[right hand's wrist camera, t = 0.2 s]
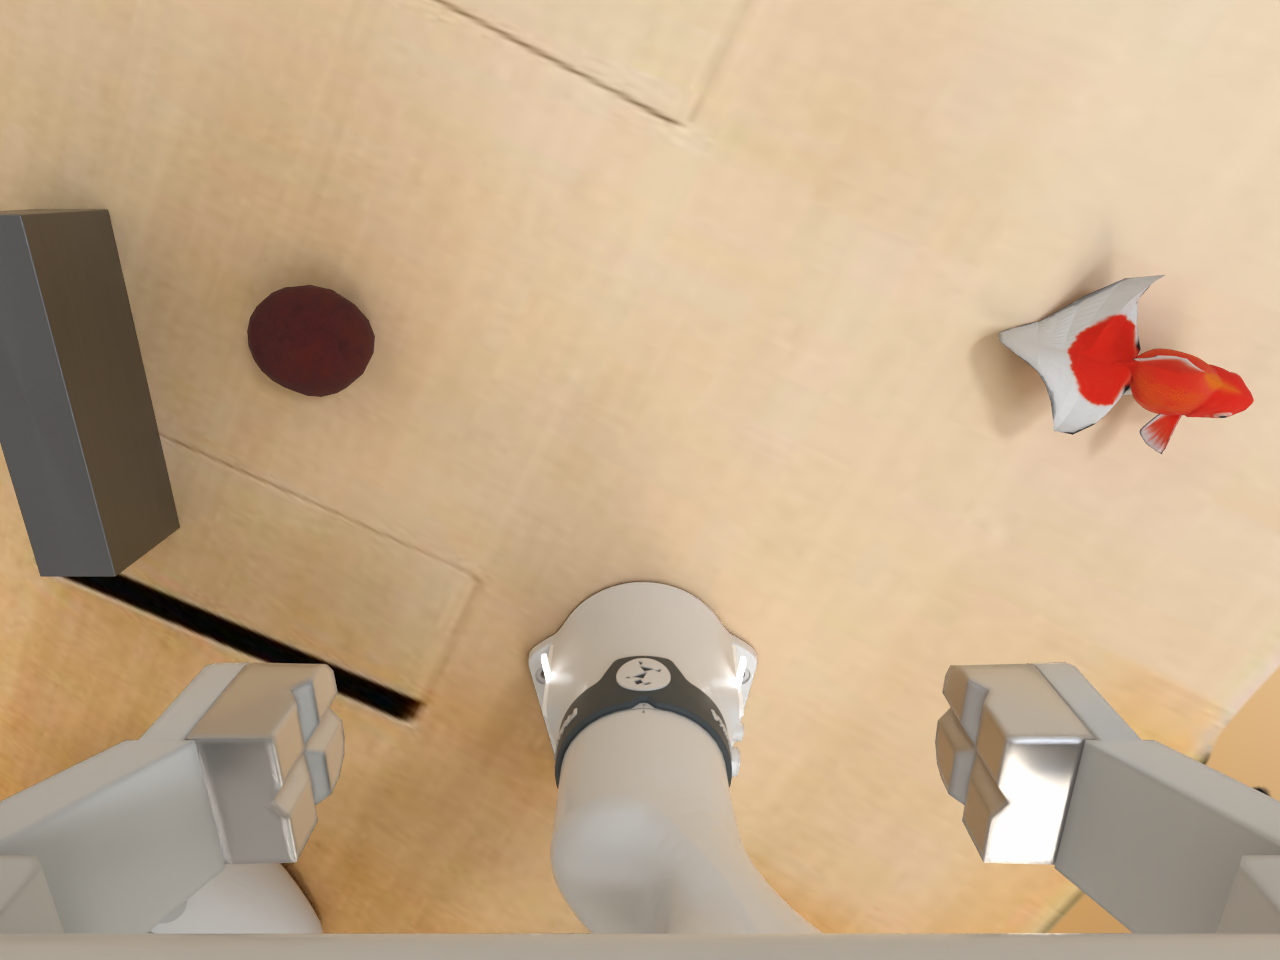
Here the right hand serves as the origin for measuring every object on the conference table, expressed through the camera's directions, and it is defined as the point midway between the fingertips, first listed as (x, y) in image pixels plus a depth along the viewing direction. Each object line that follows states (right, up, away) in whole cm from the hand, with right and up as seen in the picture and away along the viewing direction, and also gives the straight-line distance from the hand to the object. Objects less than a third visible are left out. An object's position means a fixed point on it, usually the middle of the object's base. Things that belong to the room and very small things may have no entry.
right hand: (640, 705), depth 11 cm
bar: (-38, +10, +47) cm, 62 cm away
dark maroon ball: (-22, +14, +46) cm, 53 cm away
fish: (+32, +12, +47) cm, 58 cm away
